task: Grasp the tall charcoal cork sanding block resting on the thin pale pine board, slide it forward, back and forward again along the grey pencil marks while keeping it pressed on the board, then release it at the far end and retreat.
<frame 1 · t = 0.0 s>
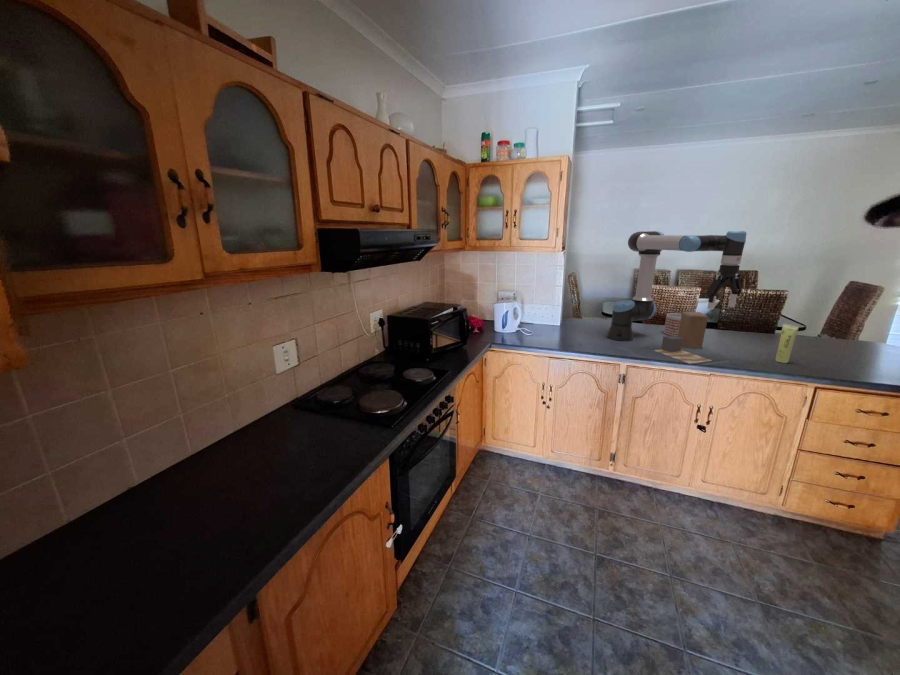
hand: (720, 308, 176), 28 cm above the counter, fingers open, 13 cm apart
board: (681, 356, 190), on the counter
planter: (675, 334, 232), on the counter
tube: (781, 361, 182), on the counter
sanding block: (670, 351, 196), point 1 cm above the counter, touching board
wooden block: (688, 347, 206), on the counter
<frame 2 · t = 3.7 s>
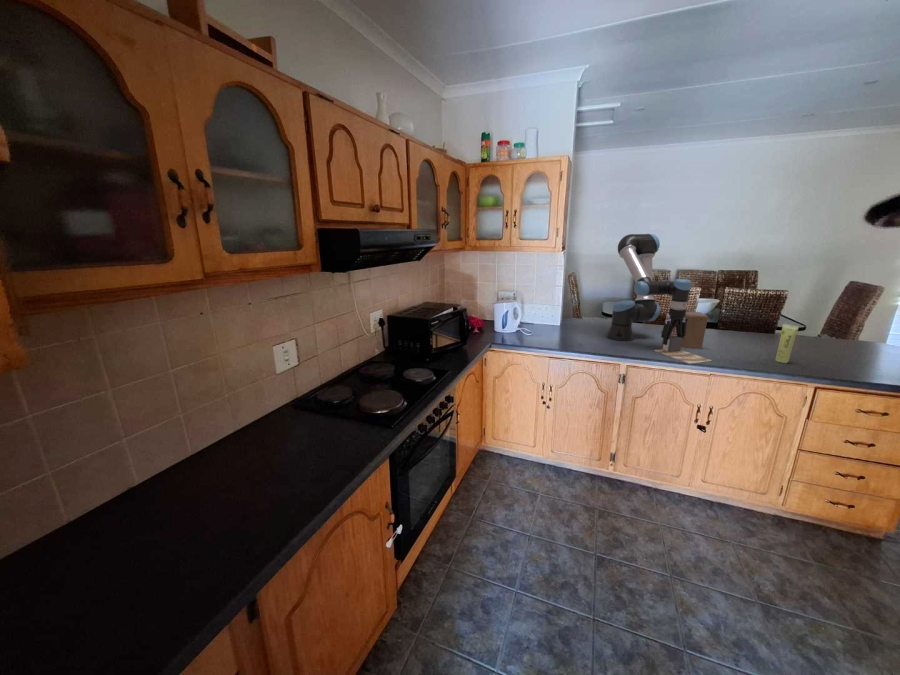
hand: (670, 349, 196), 2 cm above the counter, fingers closed on sanding block, 7 cm apart
sanding block: (670, 351, 196), point 1 cm above the counter, touching board, gripper
everything else where it was.
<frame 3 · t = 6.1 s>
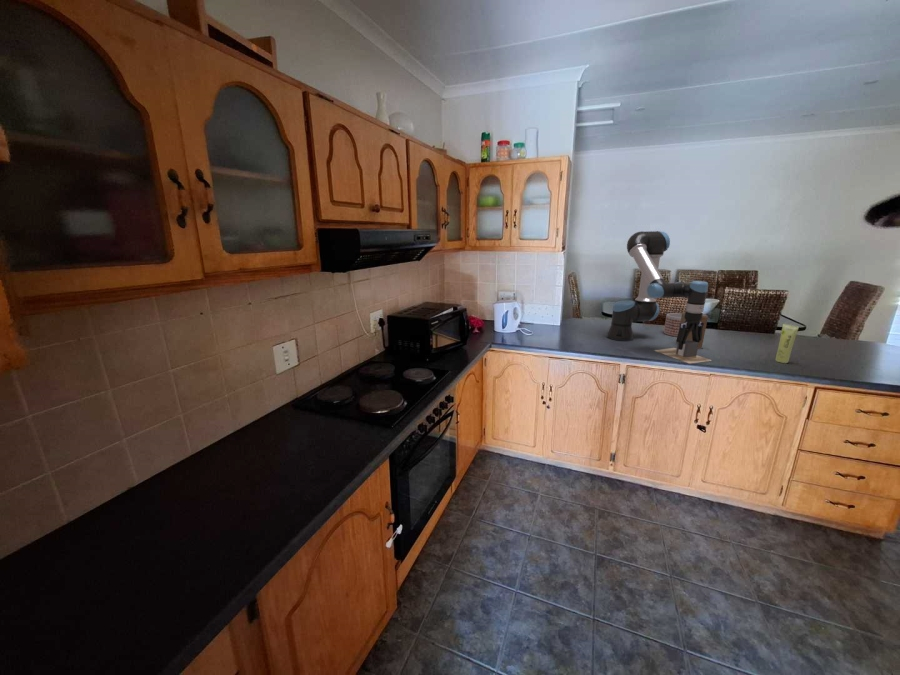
hand: (686, 354, 187), 2 cm above the counter, fingers closed on sanding block, 7 cm apart
sanding block: (685, 356, 187), point 1 cm above the counter, touching gripper
everything else where it was.
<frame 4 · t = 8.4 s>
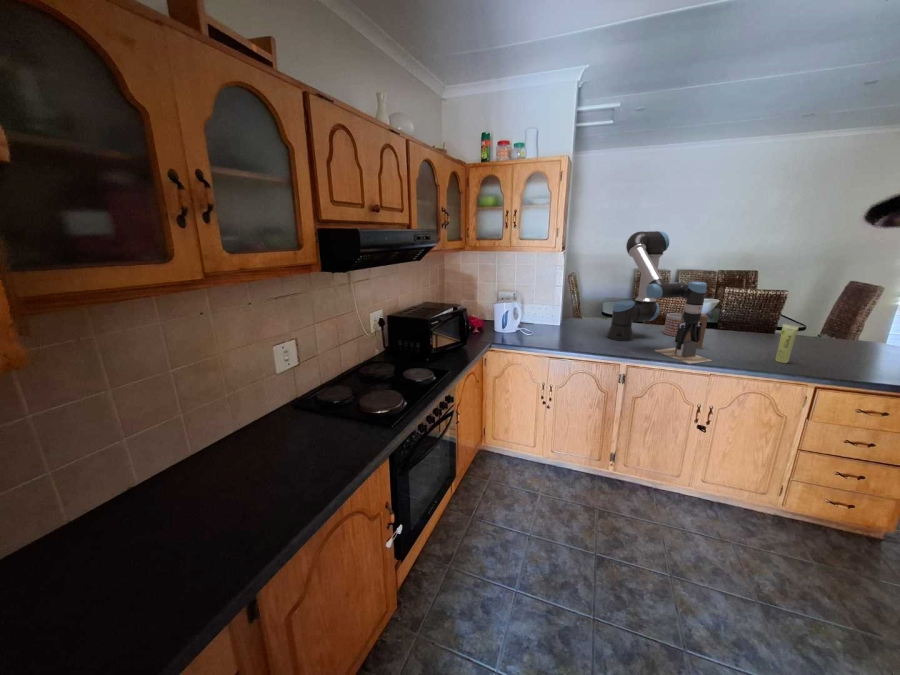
hand: (684, 354, 188), 2 cm above the counter, fingers closed on sanding block, 7 cm apart
sanding block: (684, 356, 188), point 1 cm above the counter, touching gripper
everything else where it was.
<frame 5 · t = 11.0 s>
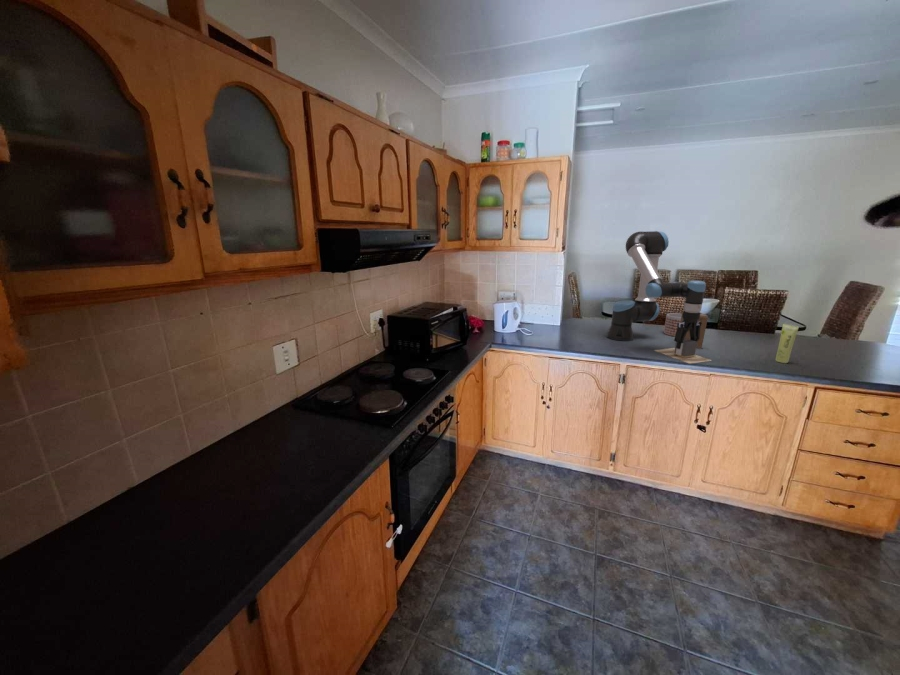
hand: (684, 353, 188), 2 cm above the counter, fingers closed on sanding block, 7 cm apart
sanding block: (684, 355, 188), point 1 cm above the counter, touching gripper
everything else where it was.
when the fingers open (2 cm above the counter, at t = 13.2 s): sanding block stays where it is, resting on board.
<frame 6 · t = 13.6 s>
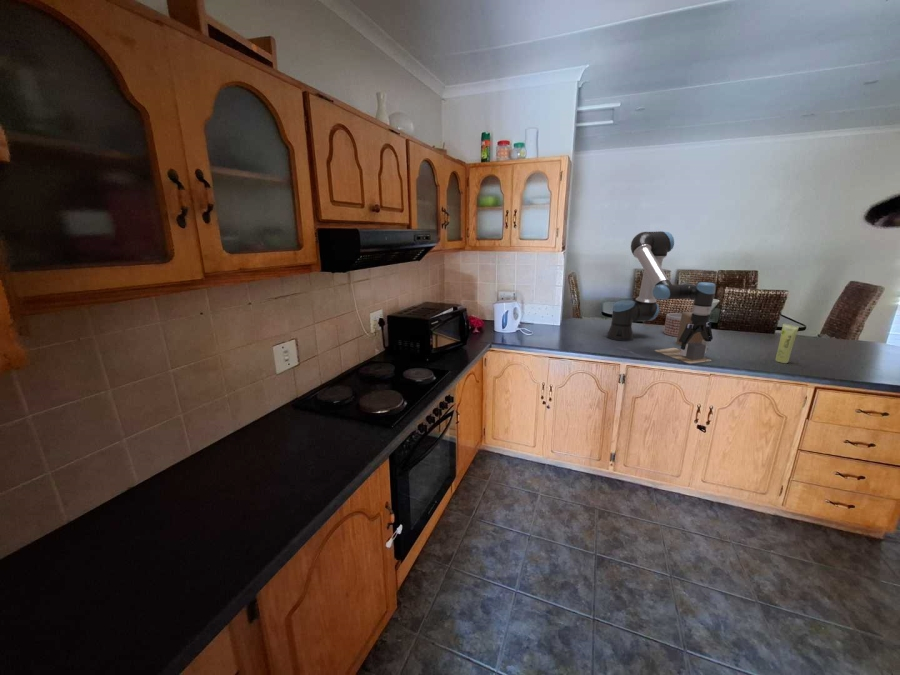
hand: (692, 354, 184), 4 cm above the counter, fingers open, 13 cm apart
sanding block: (692, 358, 184), point 1 cm above the counter, touching board
everything else where it was.
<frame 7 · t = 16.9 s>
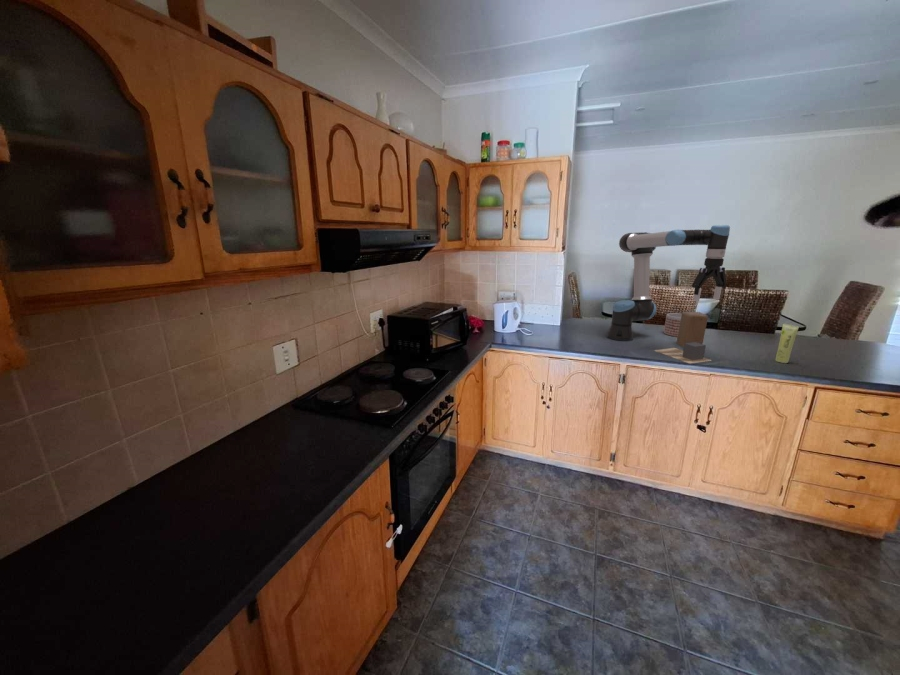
hand: (706, 300, 181), 31 cm above the counter, fingers open, 13 cm apart
nothing on the counter moved.
at the end: sanding block inside the target area (0.0 cm from its centre), point 1.0 cm above the counter; sanding block touching board; the gripper is holding nothing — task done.
